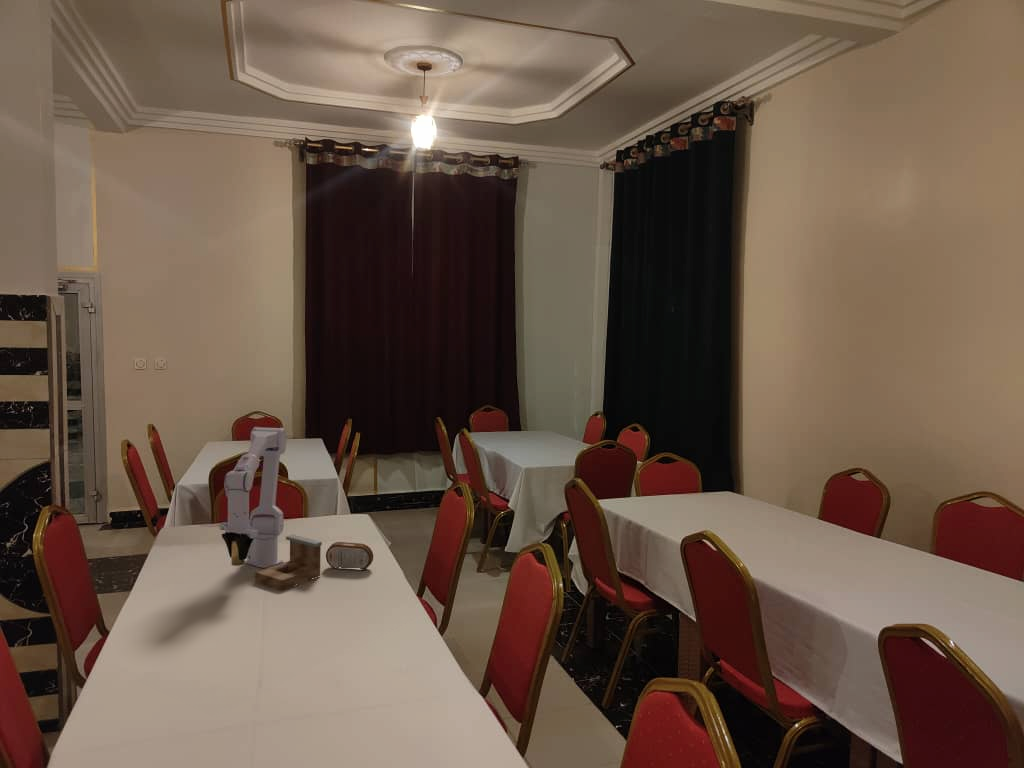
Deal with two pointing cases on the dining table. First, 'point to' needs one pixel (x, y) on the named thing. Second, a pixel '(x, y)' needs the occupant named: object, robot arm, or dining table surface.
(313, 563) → the socket block
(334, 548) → the tin
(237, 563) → the peg
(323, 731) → the dining table surface
